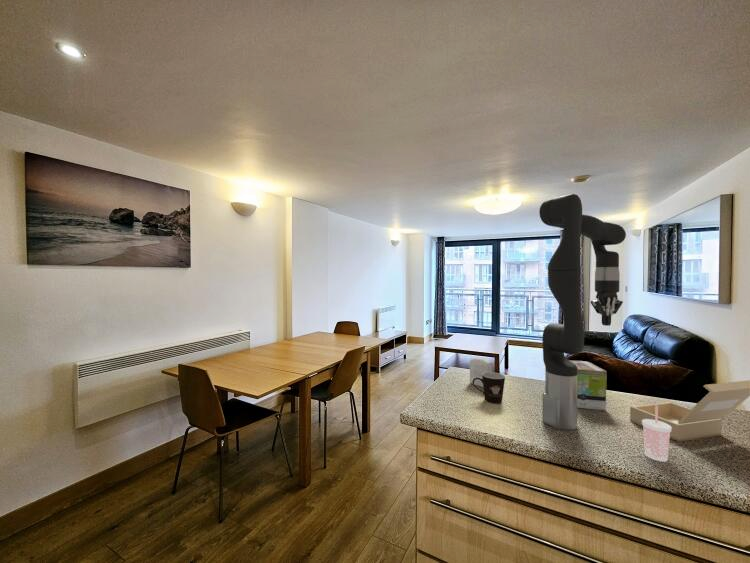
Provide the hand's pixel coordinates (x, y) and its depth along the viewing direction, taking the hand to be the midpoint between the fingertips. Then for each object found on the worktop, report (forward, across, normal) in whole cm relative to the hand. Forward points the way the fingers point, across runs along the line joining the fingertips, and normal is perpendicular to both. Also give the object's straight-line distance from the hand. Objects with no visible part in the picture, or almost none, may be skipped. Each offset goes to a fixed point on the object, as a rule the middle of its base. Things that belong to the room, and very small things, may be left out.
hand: (606, 325), depth 119 cm
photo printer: (+31, -33, +32) cm, 56 cm away
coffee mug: (+31, -39, +16) cm, 52 cm away
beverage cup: (+31, -18, -30) cm, 47 cm away
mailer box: (+31, +6, -18) cm, 37 cm away
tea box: (+31, -4, +6) cm, 32 cm away
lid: (+18, +6, -28) cm, 34 cm away
